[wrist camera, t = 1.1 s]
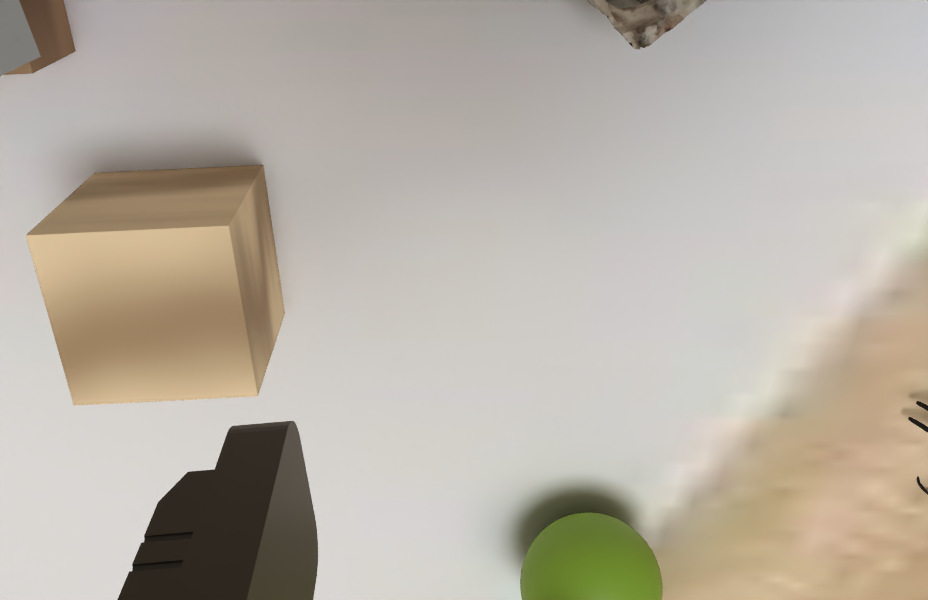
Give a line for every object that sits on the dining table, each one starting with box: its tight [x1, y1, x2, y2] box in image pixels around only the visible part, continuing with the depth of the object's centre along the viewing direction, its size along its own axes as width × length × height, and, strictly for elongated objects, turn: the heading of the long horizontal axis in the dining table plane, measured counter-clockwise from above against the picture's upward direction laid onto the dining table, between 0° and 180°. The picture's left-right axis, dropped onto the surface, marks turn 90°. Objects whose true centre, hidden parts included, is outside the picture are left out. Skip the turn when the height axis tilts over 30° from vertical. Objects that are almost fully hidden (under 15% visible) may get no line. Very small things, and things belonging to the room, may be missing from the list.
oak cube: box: [26, 165, 285, 405], centre depth 27 cm, size 6×6×6 cm
